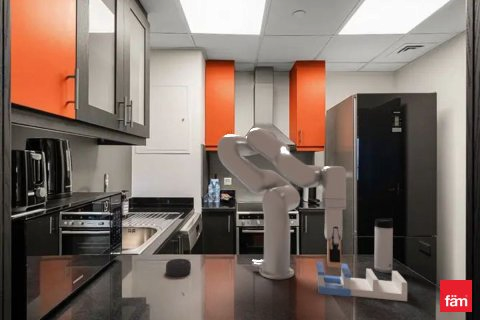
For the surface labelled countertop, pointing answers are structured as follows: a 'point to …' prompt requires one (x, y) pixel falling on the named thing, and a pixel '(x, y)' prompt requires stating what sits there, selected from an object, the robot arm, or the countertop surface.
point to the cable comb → (361, 284)
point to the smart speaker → (178, 267)
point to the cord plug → (330, 264)
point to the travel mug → (383, 245)
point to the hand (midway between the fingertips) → (334, 259)
